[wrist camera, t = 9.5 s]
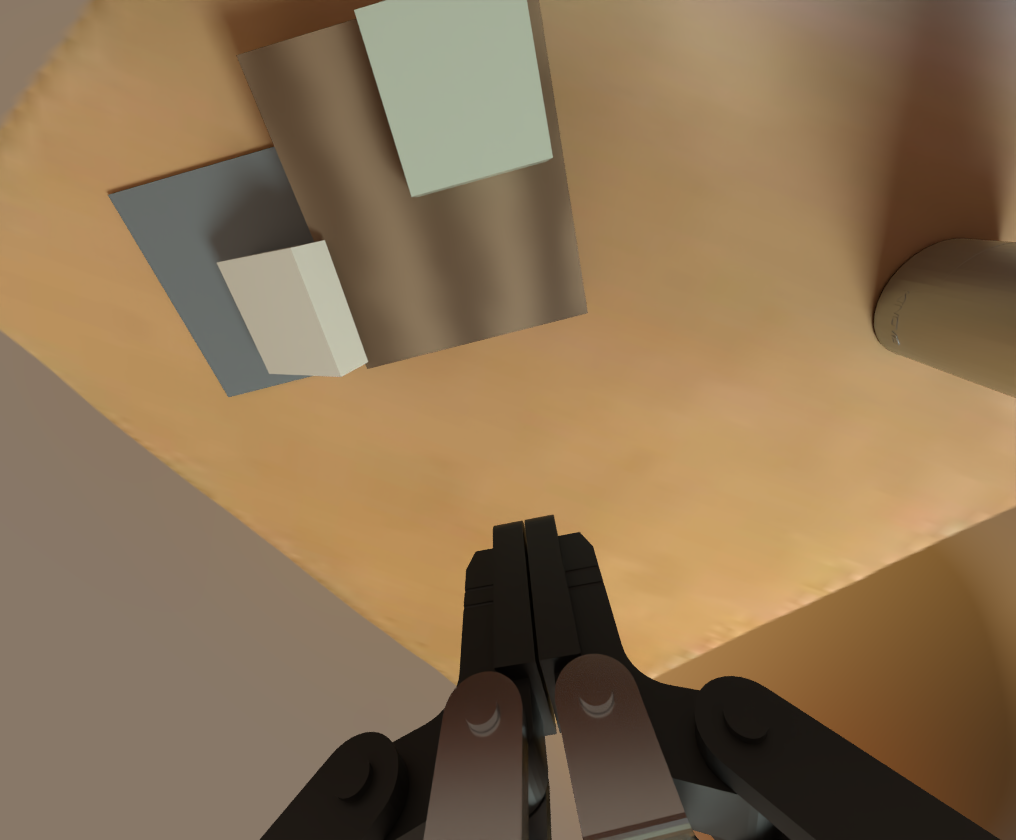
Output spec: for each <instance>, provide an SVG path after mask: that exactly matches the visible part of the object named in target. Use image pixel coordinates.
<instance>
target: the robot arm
mask: <svg viewBox="0 0 1016 840" xmlns="http://www.w3.org/2000/svg"><path fill="white" fill-rule="evenodd" d="M874 328H875V332H876V336H877V338H878V340H879V341H880V343H881V344H882V345H883V346H884V347H885V348H886V349H887V350H889V351H891V352H894V353H896V354H898V355H901V356H904V357H907V358H909V359H912V360H915V361H917V362H920V363H923V364H925V365H928V366H931V367H933V368H936V369H938V370H941V371H944V372H946V373H949V374H952V375H955V376H957V377H960V378H963V379H965V380H968V381H971V382H973V383H976V384H979V385H982V386H984V387H987V388H990V389H992V390H995V391H998V392H1001V393H1003V394H1006V395H1009V396H1011V397H1014V398H1016V242H1004V241H991V240H979V239H966V238H964V239H950V240H946V241H942V242H939V243H936V244H934V245H932V246H929V247H927V248H925V249H924V250H922V251H921V252H919V253H917V254H916V255H914V256H913V257H912V258H911V259H909V260H908V261H907V262H906V263H905V264H904V265H902V266H901V267H900V269H899V270H898V271H897V272H896V273H895V274H894V275H893V276H892V278H891V279H890V281H889V282H888V284H887V285H886V287H885V288H884V290H883V292H882V294H881V296H880V298H879V301H878V303H877V307H876V311H875V316H874ZM554 714H555V716H554ZM555 717H556V721H557V724H558V728H559V731H560V733H562V738H563V743H564V748H565V753H566V758H567V763H568V768H569V773H570V778H571V783H572V788H573V793H574V798H575V803H576V808H577V813H578V817H579V822H580V828H581V833H582V837H583V840H699V839H698V838H697V837H696V836H695V834H694V832H693V830H695V831H699V832H702V833H705V834H709V835H711V836H712V837H713V838H714V839H715V840H1000V839H998V838H997V837H995V836H993V835H992V834H991V833H989V832H988V831H986V830H984V829H983V828H982V827H980V826H978V825H977V824H975V823H974V822H972V821H971V820H969V819H967V818H966V817H965V816H963V815H962V814H960V813H958V812H957V811H955V810H954V809H952V808H951V807H949V806H948V805H946V804H944V803H943V802H941V801H940V800H938V799H937V798H935V797H934V796H932V795H930V794H929V793H927V792H926V791H924V790H923V789H921V788H920V787H918V786H917V785H915V784H914V783H912V782H911V781H909V780H907V779H906V778H905V777H903V776H901V775H900V774H898V773H897V772H895V771H893V770H892V769H891V768H889V767H888V766H886V765H884V764H883V763H881V762H880V761H878V760H877V759H875V758H874V757H872V756H870V755H869V754H868V753H866V752H864V751H863V750H861V749H860V748H858V747H857V746H855V745H854V744H852V743H851V742H849V741H847V740H846V739H844V738H842V737H841V736H840V735H838V734H837V733H835V732H834V731H832V730H831V729H829V728H827V727H826V726H824V725H823V724H821V723H820V722H818V721H817V720H815V719H814V718H812V717H811V716H809V715H807V714H806V713H804V712H803V711H801V710H800V709H798V708H797V707H795V706H794V705H792V704H791V703H789V702H787V701H786V700H784V699H783V698H781V697H780V696H778V695H777V694H775V693H774V692H772V691H770V690H769V689H767V688H766V687H764V686H762V685H760V684H759V683H757V682H754V681H752V680H749V679H746V678H742V677H735V676H724V677H720V678H716V679H714V680H711V681H710V682H708V683H707V684H705V685H704V687H703V688H702V689H701V690H694V689H689V688H683V687H678V686H672V685H667V684H663V683H660V682H658V681H655V680H653V679H651V678H649V677H647V676H646V675H644V674H643V673H641V672H640V671H639V670H638V669H637V668H636V667H635V666H634V665H633V664H632V663H631V662H630V660H629V659H628V657H627V656H626V654H625V652H624V650H623V647H622V644H621V641H620V637H619V634H618V630H617V627H616V624H615V620H614V617H613V613H612V610H611V606H610V603H609V600H608V596H607V593H606V589H605V586H604V583H603V579H602V576H601V572H600V569H599V566H598V562H597V559H596V555H595V552H594V548H593V546H592V545H591V544H590V543H589V542H588V541H587V540H586V538H585V537H584V536H583V535H582V534H581V533H580V532H577V533H572V534H567V535H561V536H558V534H557V529H556V524H555V519H554V515H548V516H543V517H538V518H533V519H527V520H525V526H524V523H523V521H518V522H512V523H507V524H502V525H497V526H494V527H493V549H487V550H482V551H477V552H475V554H474V556H473V558H472V560H471V562H470V564H469V566H468V567H467V569H466V581H465V597H464V612H463V628H462V643H461V659H460V674H459V680H458V684H457V687H456V688H455V690H454V691H453V692H452V693H451V695H450V697H449V699H448V701H447V703H446V706H445V708H444V709H443V710H442V711H441V713H440V714H439V715H438V716H437V717H435V718H434V719H433V720H431V721H430V722H428V723H427V724H426V725H423V726H422V727H420V728H418V729H416V730H414V731H412V732H411V733H409V734H407V735H405V736H403V737H401V738H400V739H398V740H396V741H394V742H391V740H390V739H389V738H387V737H386V736H385V735H383V734H380V733H376V732H366V733H362V734H359V735H356V736H354V737H352V738H351V739H349V740H347V741H346V742H344V743H343V744H342V745H341V746H340V747H339V748H337V749H336V750H335V752H334V753H333V754H332V755H331V756H330V757H329V758H328V759H327V761H326V762H325V763H324V764H323V766H322V767H321V768H320V769H319V770H318V771H317V772H316V774H315V775H314V776H313V777H312V778H311V780H310V781H309V782H308V783H307V784H306V786H305V787H304V788H303V789H302V790H301V791H300V793H299V794H298V795H297V796H296V797H295V798H294V800H293V801H292V802H291V803H290V804H289V806H288V807H287V808H286V809H285V810H284V812H283V813H282V814H281V815H280V816H279V818H278V819H277V820H276V821H275V822H274V823H273V824H272V826H271V827H270V828H269V829H268V830H267V832H266V833H265V834H264V835H263V836H262V838H261V839H260V840H552V838H551V837H552V836H551V810H550V786H549V779H548V765H547V755H546V745H545V736H547V735H553V734H556V733H557V732H556V724H555Z"/></svg>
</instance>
